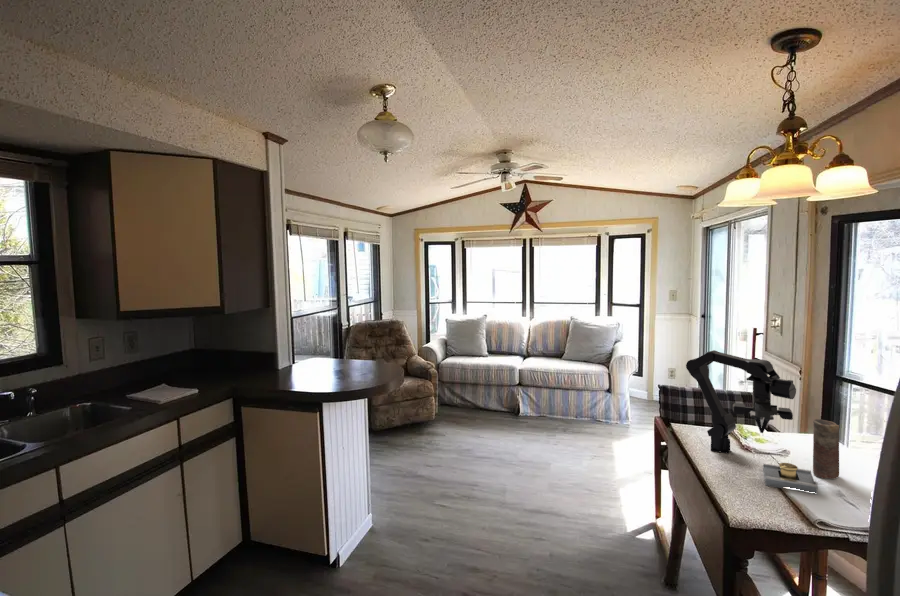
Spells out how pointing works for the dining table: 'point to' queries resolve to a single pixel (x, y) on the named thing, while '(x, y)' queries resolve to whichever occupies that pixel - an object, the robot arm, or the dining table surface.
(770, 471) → the jig
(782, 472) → the gold flared round piece
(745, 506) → the dining table surface
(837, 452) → the candle
